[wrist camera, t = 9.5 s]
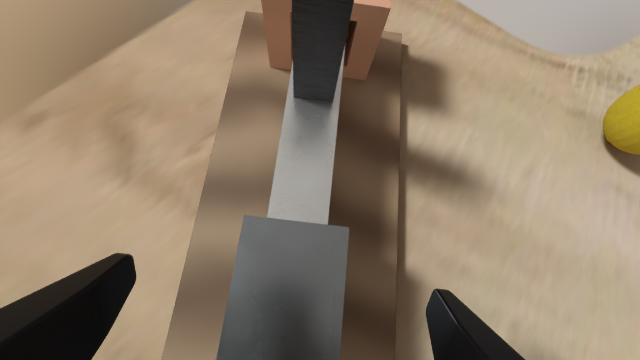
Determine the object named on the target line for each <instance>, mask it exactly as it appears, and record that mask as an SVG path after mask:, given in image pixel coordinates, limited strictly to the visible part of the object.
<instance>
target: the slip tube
mask: <svg viewBox="0 0 640 360" xmlns="http://www.w3.org/2000/svg"><path fill="white" fill-rule="evenodd" d="M353 3H354V0H292V45H293V62H292V68H291V75H290V81H289V87H288V93H287V99H286V105H285V111H284V117H283V123H282V129H281V135H280V141H279V147H278V153H277V159H276V166H275V172H274V178H273V184H272V190H271V196H270V202H269V208H268V214H267V218H275V219H284V220H292V221H301V222H309V223H318V224H326V225H328V216H329V206H330V196H331V185H332V175H333V165H334V155H335V144H336V134H337V124H338V114H339V103H340V93H341V83H342V73H343V63H344V52H345V42H346V37H347V32H348V28H349V23H350V18H351V13H352V8H353Z"/></svg>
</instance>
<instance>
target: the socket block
mask: <svg viewBox="0 0 640 360" xmlns="http://www.w3.org/2000/svg"><path fill="white" fill-rule="evenodd" d="M261 1H262V9H263V17H264V25H265V32H266V40H267V48H268V56H269V63H270V67H272V68H279V69H286V70H291V68H292V62H293V45H292V0H261ZM390 9H391V0H354V3H353V8H352V13H351V18H350V23H349V28H348V32H347V37H346V42H345V52H344V63H343V73H342V77H345V78H352V79H359V80H366V78H367V75H368V72H369V69H370V66H371V63H372V60H373V58H374V55H375V52H376V49H377V46H378V43H379V40H380V37H381V35H382V32H383V29H384V26H385V23H386V20H387V17H388V15H389V12H390Z"/></svg>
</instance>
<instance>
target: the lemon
mask: <svg viewBox="0 0 640 360" xmlns="http://www.w3.org/2000/svg"><path fill="white" fill-rule="evenodd" d="M603 132H604V134H605V136H606V140H607V141H608V142H610V143H611V144H612V145H613V146H615V147H616V148H618V149H620V150H622V151H624V152H627V153H631V154H636V155H640V85H639V86H637V87H635V88H633V89H631V90H629V91H628V92H626V93H625V94H623V95H622V96H621V97H619V98H618V99H617V100H616V101H615V102H614V103H613V104H612V105H611V106H610V108H609V109H608V110H607V112H606V114H605V117H604V119H603Z"/></svg>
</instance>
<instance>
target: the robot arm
mask: <svg viewBox="0 0 640 360" xmlns="http://www.w3.org/2000/svg"><path fill="white" fill-rule="evenodd" d="M135 281H136V271H135V265H134V260H133V257H132V255H130V254H123V253H115V254H113V255H111V256H109V257H106V258H104V259H102V260H100V261H98V262H96V263H94V264H92V265H90V266H88V267H86V268H84V269H81V270H79V271H77V272H75V273H73V274H71V275H69V276H67V277H65V278H63V279H61V280H59V281H57V282H54V283H52V284H50V285H48V286H46V287H44V288H42V289H40V290H38V291H36V292H34V293H32V294H29V295H27V296H25V297H23V298H21V299H19V300H17V301H15V302H13V303H11V304H9V305H7V306H4V307H2V308H0V360H91V359H92V358H93V356H94V355H95V353H96V352H97V350H98V349H99V347H100V346H101V344H102V343H103V341H104V339H105V338H106V336H107V335H108V333H109V331H110V329H111V328H112V326H113V324H114V322H115V320H116V318H117V316H118V314H119V312H120V311H121V309H122V307H123V305H124V303H125V301H126V299H127V297H128V295H129V294H130V292H131V290H132V288H133V286H134V284H135ZM426 318H427V323H428V328H429V334H430V339H431V345H432V350H433V355H434V360H525V359H524V358H523V357H522V356H521V355H519V354H518V353H517V352H516V351H515V350H514V349H513V348H512V347H511V346H510V345H508V344H507V343H506V342H505V341H504V340H503V339H502V338H501V337H500V336H499V335H498V334H496V333H495V332H494V331H493V330H492V329H491V328H490V327H489V326H488V325H487V324H485V323H484V322H483V321H482V320H481V319H480V318H479V317H478V316H477V315H476V314H474V313H473V312H472V311H471V310H470V309H469V308H468V307H467V306H466V305H465V304H464V303H462V302H461V301H460V300H459V299H458V298H457V297H456V296H455V295H454V294H453V293H451V292H450V291H449V290H445V289H434V290H433V292H432V295H431V297H430V300H429V302H428V305H427V308H426Z"/></svg>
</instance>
